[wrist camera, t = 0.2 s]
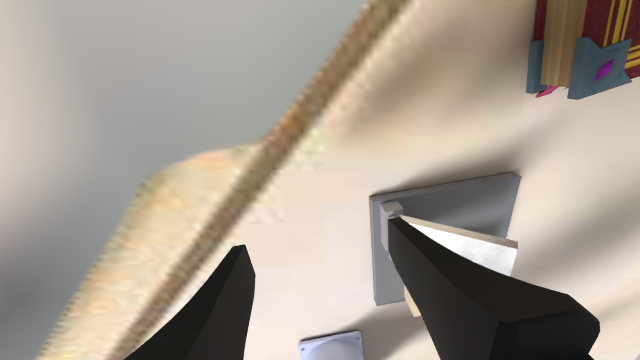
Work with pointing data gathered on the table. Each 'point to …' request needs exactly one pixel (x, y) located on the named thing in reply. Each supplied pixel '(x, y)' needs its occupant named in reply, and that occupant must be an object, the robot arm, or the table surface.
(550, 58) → the decorative book
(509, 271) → the grey flat plate
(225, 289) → the robot arm
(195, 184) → the table surface
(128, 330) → the table surface
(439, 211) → the board
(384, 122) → the table surface
